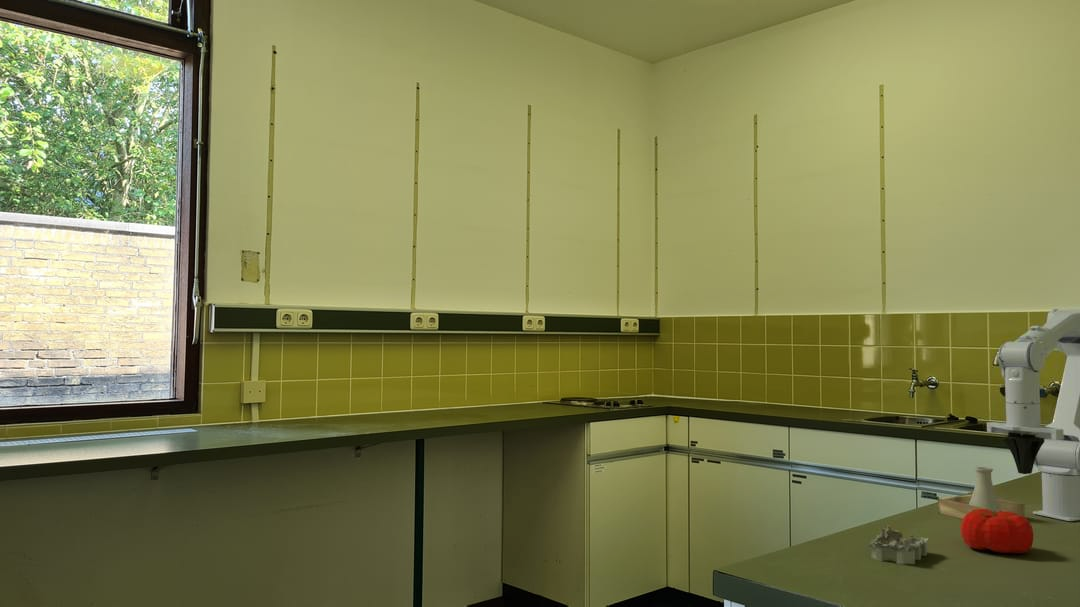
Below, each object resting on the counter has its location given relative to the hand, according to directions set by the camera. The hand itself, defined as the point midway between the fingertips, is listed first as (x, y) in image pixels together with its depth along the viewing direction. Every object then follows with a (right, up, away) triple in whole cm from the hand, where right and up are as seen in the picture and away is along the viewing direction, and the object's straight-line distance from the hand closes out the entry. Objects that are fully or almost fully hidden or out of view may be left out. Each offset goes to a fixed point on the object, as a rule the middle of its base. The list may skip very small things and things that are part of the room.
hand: (1025, 473), depth 156 cm
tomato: (-16, -10, -18) cm, 26 cm away
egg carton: (-34, -10, -21) cm, 41 cm away
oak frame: (-4, -11, +9) cm, 14 cm away
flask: (-3, -11, +8) cm, 14 cm away
